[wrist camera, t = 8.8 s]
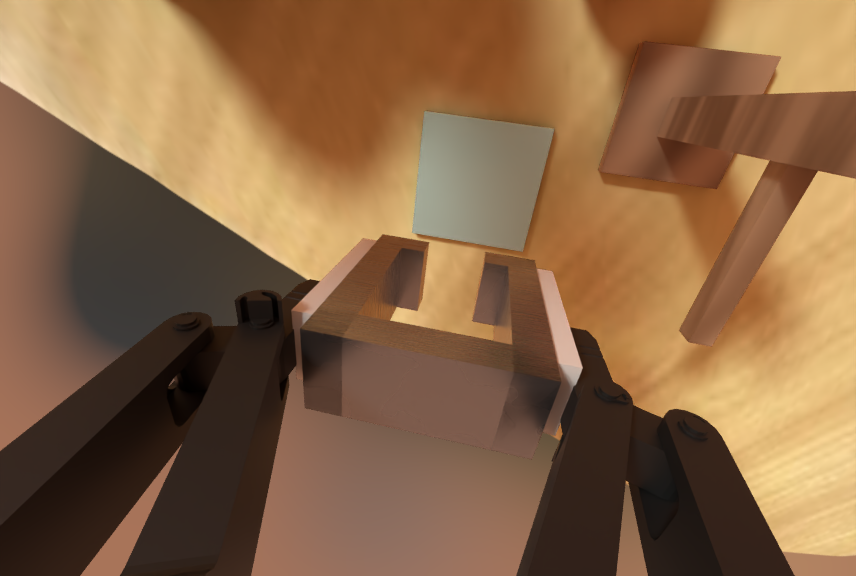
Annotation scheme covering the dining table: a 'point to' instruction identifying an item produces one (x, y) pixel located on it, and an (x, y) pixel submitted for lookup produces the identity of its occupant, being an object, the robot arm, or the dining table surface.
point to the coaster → (479, 179)
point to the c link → (434, 354)
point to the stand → (727, 150)
